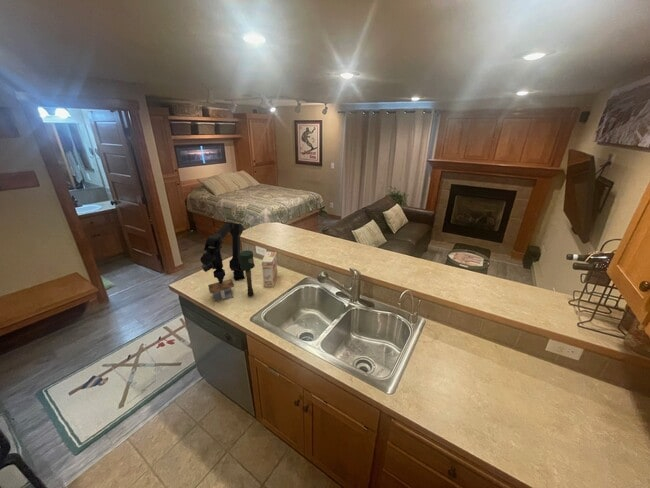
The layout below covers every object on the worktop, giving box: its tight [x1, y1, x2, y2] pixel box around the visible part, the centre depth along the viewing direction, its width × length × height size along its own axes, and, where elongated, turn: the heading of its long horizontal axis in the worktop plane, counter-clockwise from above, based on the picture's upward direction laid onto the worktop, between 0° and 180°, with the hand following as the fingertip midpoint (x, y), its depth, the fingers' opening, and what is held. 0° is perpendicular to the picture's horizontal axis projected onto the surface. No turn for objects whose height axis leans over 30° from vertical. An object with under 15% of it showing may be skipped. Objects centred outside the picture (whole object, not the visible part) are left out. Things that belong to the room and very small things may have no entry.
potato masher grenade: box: [239, 250, 256, 297], centre depth 159 cm, size 8×9×30 cm
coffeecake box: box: [261, 251, 279, 288], centre depth 177 cm, size 15×7×20 cm, turn 179°
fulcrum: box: [212, 288, 234, 303], centre depth 165 cm, size 11×12×4 cm
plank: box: [208, 278, 235, 294], centre depth 163 cm, size 14×4×4 cm, turn 123°
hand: (220, 279), depth 161 cm, fingers open, 9 cm apart
